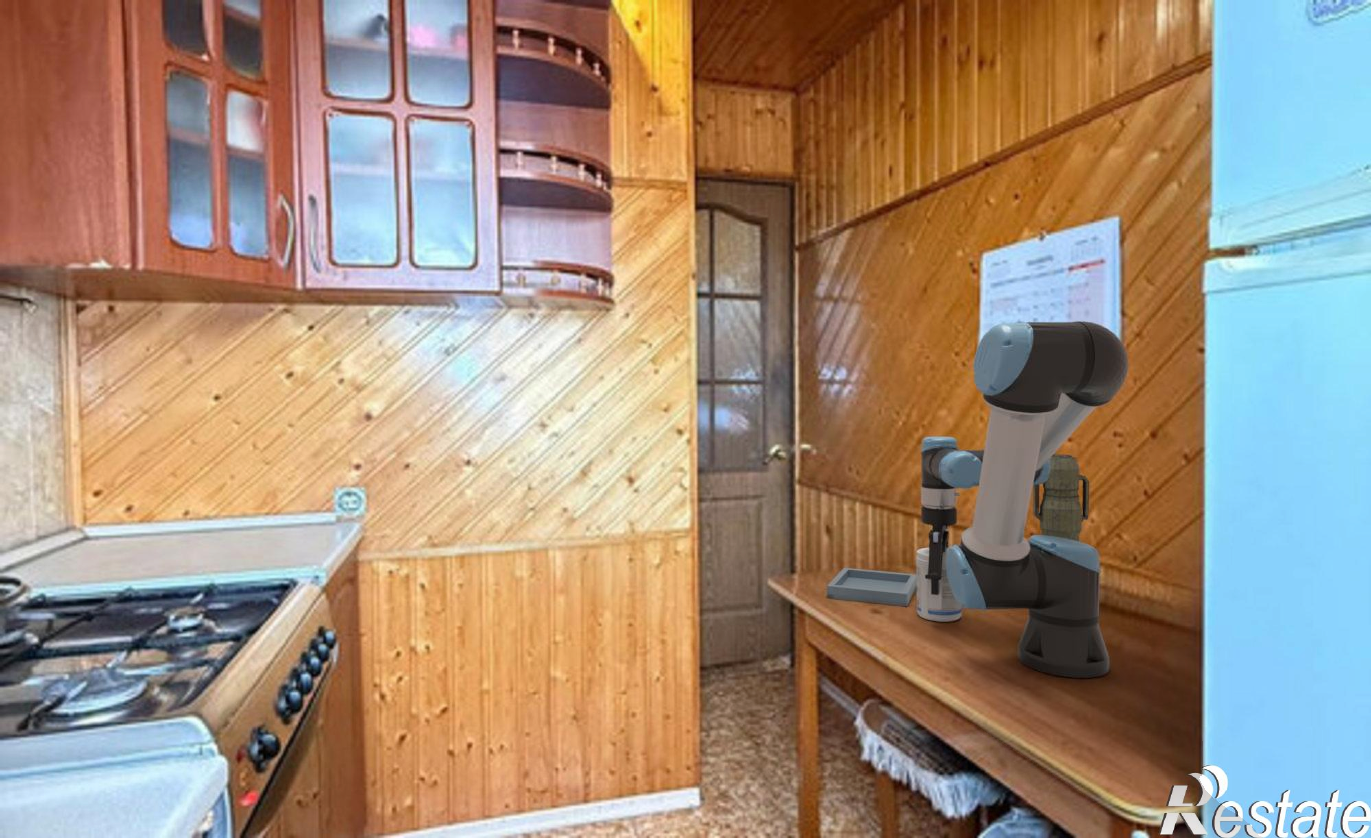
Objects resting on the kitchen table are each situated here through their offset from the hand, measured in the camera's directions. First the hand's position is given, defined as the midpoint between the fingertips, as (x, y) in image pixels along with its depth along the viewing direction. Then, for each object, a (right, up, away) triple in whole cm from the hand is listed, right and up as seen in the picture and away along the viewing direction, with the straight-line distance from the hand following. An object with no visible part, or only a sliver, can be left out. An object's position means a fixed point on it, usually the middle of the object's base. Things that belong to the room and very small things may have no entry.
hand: (938, 599), depth 166 cm
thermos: (+32, -3, +9) cm, 33 cm away
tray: (-10, -3, +20) cm, 22 cm away
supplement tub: (0, -4, 0) cm, 4 cm away
